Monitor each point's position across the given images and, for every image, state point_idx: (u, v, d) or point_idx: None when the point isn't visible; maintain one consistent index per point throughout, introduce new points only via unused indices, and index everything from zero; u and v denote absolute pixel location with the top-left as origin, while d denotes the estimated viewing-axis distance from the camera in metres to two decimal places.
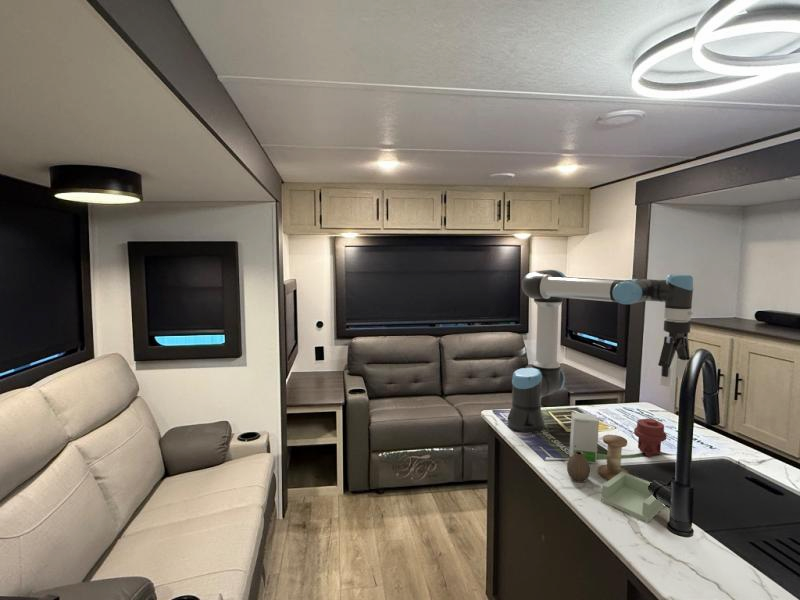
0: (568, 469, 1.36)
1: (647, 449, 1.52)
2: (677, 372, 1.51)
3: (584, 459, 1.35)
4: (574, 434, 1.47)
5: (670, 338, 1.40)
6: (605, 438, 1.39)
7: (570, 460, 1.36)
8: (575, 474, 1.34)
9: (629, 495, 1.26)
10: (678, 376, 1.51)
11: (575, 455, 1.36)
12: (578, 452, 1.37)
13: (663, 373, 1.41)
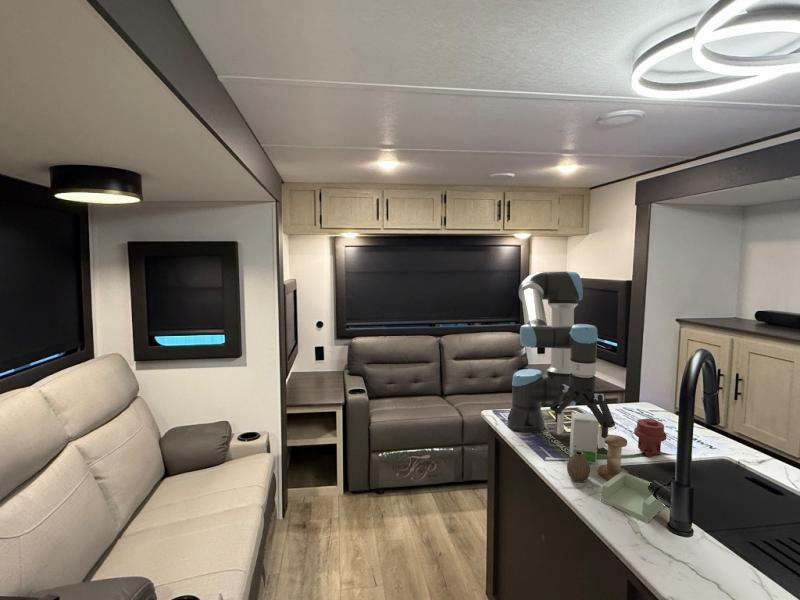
0: (568, 469, 1.36)
1: (647, 449, 1.52)
2: None
3: (584, 459, 1.35)
4: (574, 434, 1.47)
5: None
6: (605, 438, 1.39)
7: (570, 460, 1.36)
8: (575, 474, 1.34)
9: (629, 495, 1.26)
10: None
11: (575, 455, 1.36)
12: (578, 452, 1.37)
13: None
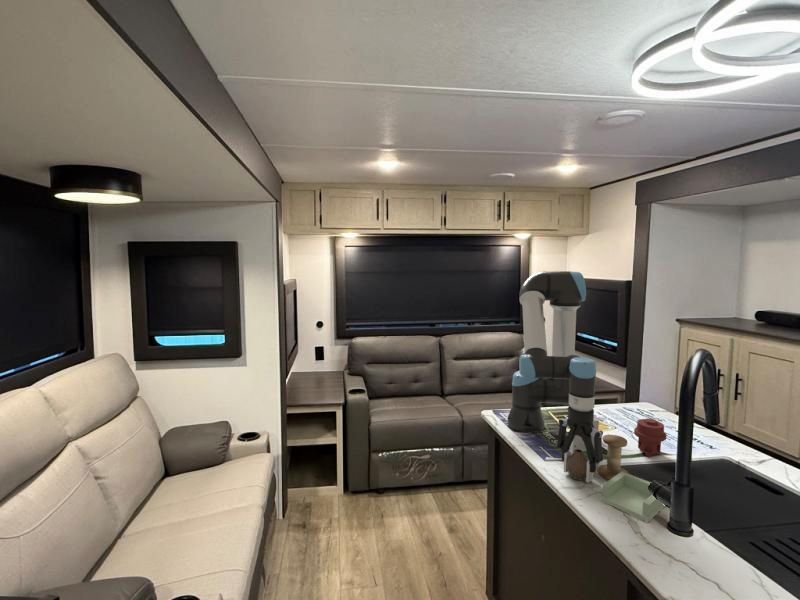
0: (568, 467, 1.37)
1: (647, 449, 1.52)
2: None
3: (584, 457, 1.35)
4: None
5: None
6: (605, 438, 1.39)
7: (570, 458, 1.37)
8: (575, 472, 1.35)
9: (629, 495, 1.26)
10: None
11: (575, 453, 1.36)
12: (578, 450, 1.38)
13: None
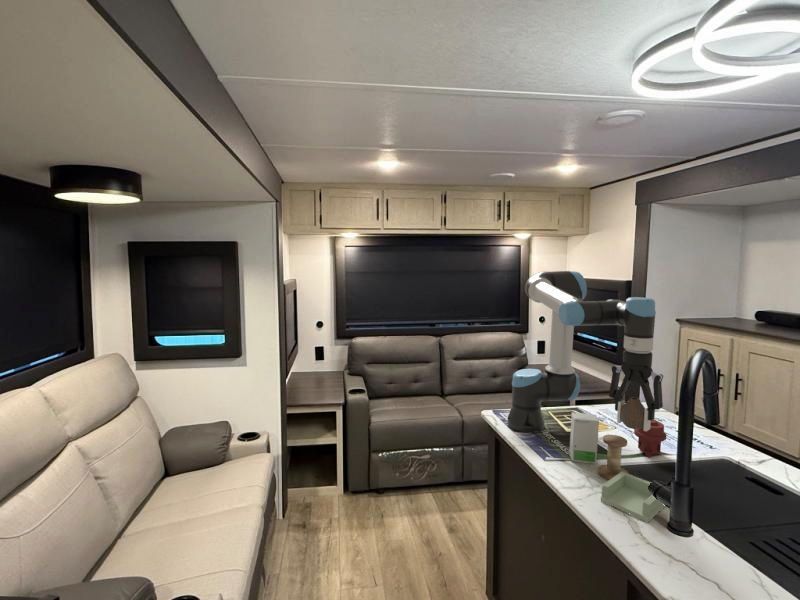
0: (623, 416, 1.27)
1: (647, 449, 1.52)
2: None
3: (641, 404, 1.25)
4: (574, 434, 1.47)
5: None
6: (605, 438, 1.39)
7: (625, 406, 1.27)
8: (631, 420, 1.25)
9: (629, 495, 1.26)
10: None
11: (631, 400, 1.26)
12: (633, 398, 1.28)
13: None
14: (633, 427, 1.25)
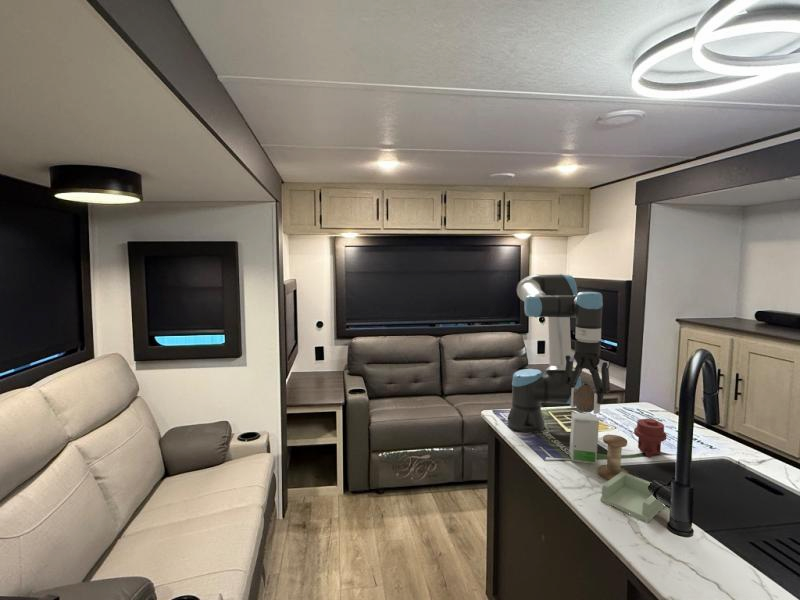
0: (575, 400, 1.38)
1: (647, 449, 1.52)
2: None
3: (591, 389, 1.37)
4: (574, 434, 1.47)
5: None
6: (605, 438, 1.39)
7: (577, 391, 1.39)
8: (582, 404, 1.36)
9: (629, 495, 1.26)
10: None
11: (582, 386, 1.38)
12: (585, 384, 1.40)
13: None
14: (584, 410, 1.37)
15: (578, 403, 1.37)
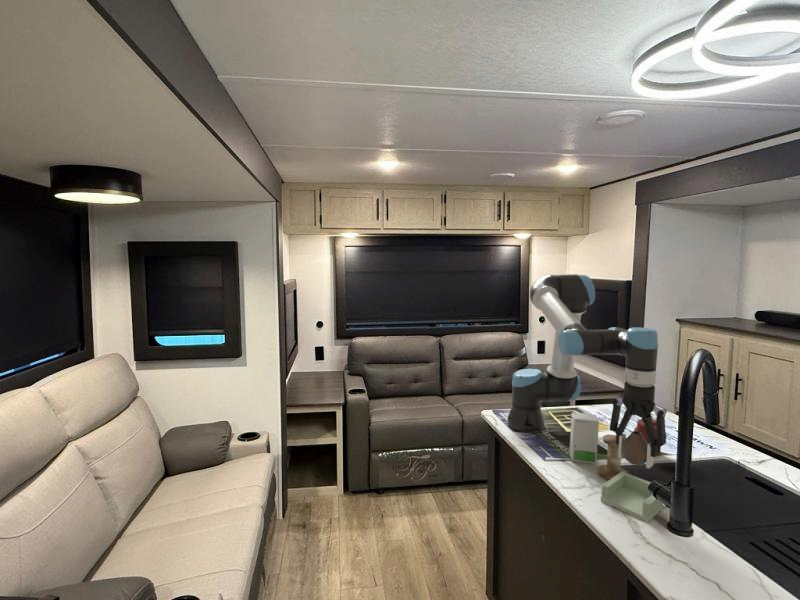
0: (624, 451, 1.21)
1: None
2: None
3: (643, 439, 1.20)
4: (574, 434, 1.47)
5: None
6: (605, 438, 1.39)
7: (626, 441, 1.21)
8: (633, 456, 1.19)
9: (629, 495, 1.26)
10: None
11: (632, 435, 1.21)
12: (635, 432, 1.22)
13: None
14: (635, 463, 1.20)
15: (628, 455, 1.20)
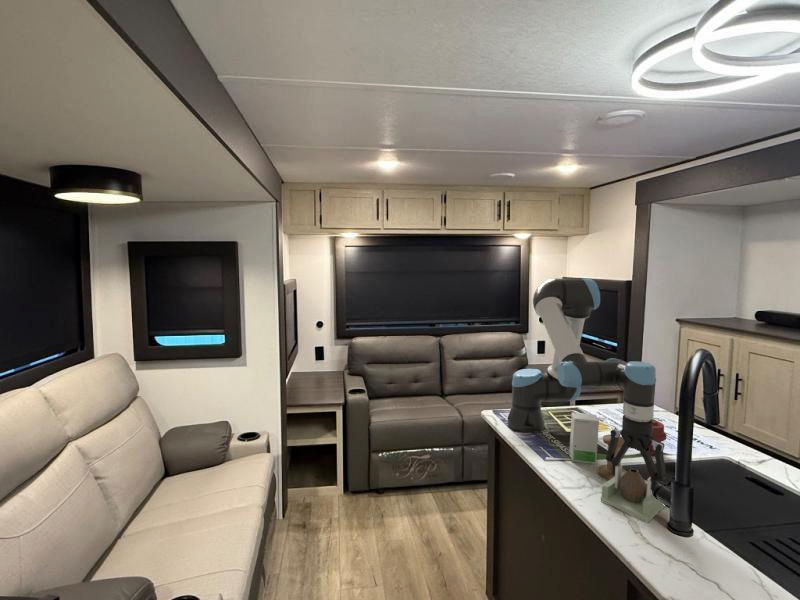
0: (621, 488, 1.23)
1: None
2: None
3: (640, 477, 1.21)
4: (574, 434, 1.47)
5: None
6: (605, 438, 1.39)
7: (624, 478, 1.23)
8: (630, 494, 1.21)
9: None
10: None
11: (629, 473, 1.22)
12: (632, 469, 1.24)
13: None
14: (632, 501, 1.21)
15: (625, 492, 1.22)
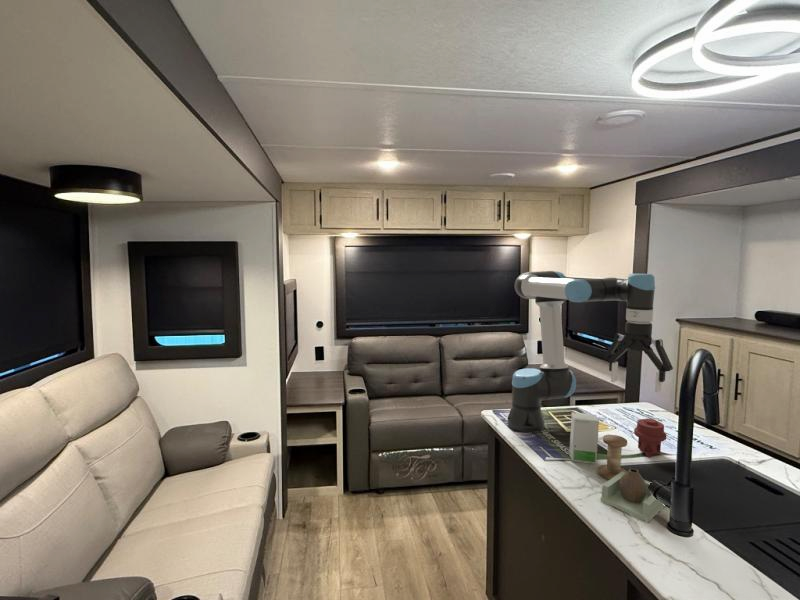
0: (621, 488, 1.23)
1: (647, 449, 1.52)
2: None
3: (640, 477, 1.21)
4: (574, 434, 1.47)
5: None
6: (605, 438, 1.39)
7: (624, 478, 1.23)
8: (630, 494, 1.21)
9: None
10: None
11: (629, 473, 1.22)
12: (632, 469, 1.24)
13: None
14: (632, 501, 1.21)
15: (625, 492, 1.22)
